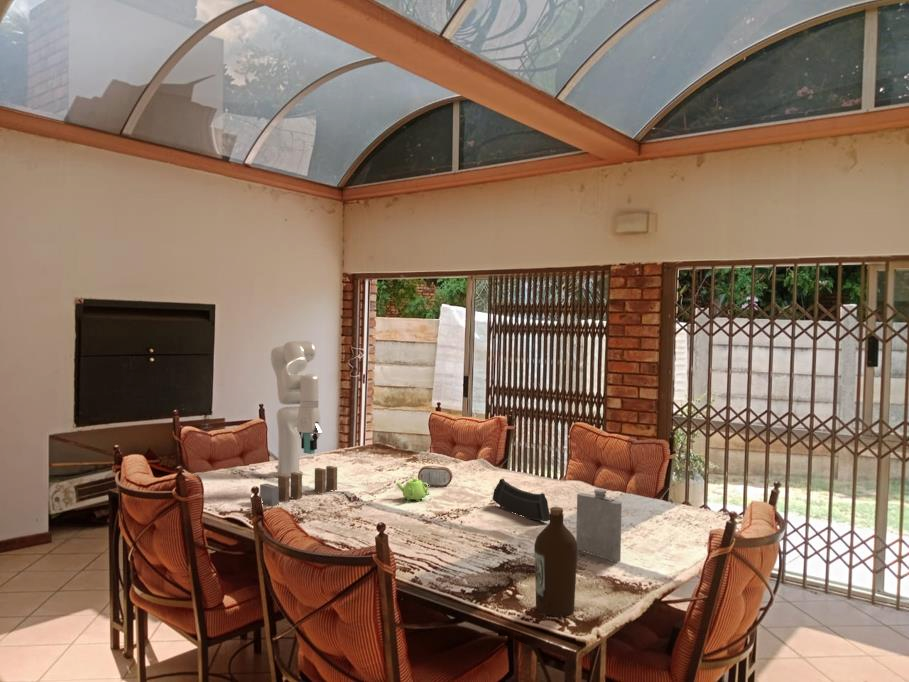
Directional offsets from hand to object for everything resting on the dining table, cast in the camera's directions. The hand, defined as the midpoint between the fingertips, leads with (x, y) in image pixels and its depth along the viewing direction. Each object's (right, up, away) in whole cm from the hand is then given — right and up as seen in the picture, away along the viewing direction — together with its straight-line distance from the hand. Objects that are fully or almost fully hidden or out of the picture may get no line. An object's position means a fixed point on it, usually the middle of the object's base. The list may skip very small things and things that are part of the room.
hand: (309, 448), depth 289 cm
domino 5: (+9, -18, +4) cm, 21 cm away
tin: (+52, -19, +16) cm, 57 cm away
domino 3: (0, -2, 0) cm, 2 cm away
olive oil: (+85, -22, -116) cm, 146 cm away
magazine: (+85, -20, -29) cm, 92 cm away
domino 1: (-7, -18, -14) cm, 24 cm away
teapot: (+44, -19, -9) cm, 48 cm away
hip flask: (+105, -21, -74) cm, 130 cm away
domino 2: (-3, -18, -9) cm, 21 cm away
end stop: (-11, -18, -19) cm, 29 cm away
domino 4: (+5, -18, 0) cm, 19 cm away
